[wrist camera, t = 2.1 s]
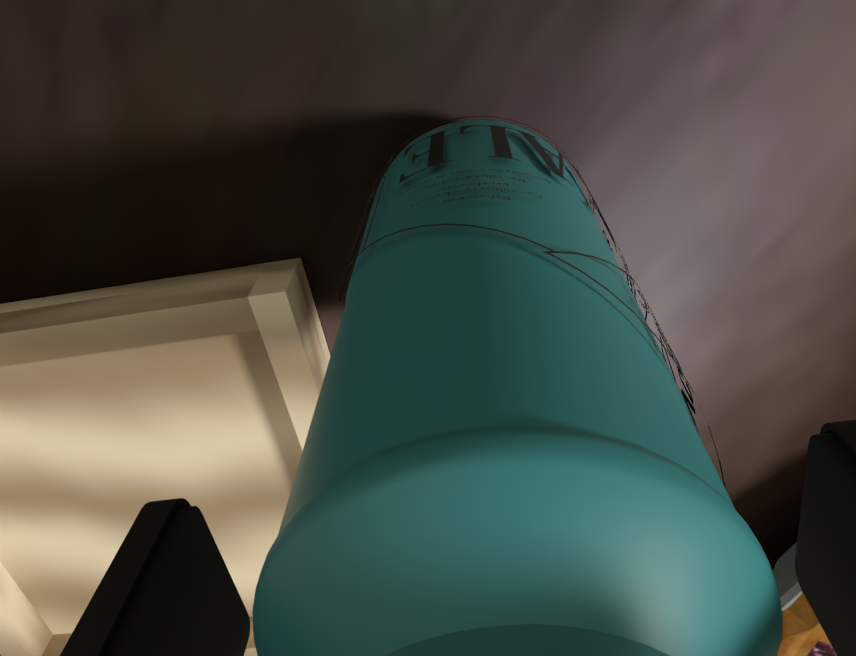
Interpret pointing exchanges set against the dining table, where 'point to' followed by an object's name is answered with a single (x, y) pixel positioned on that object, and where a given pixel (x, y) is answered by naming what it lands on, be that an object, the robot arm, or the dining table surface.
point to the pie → (798, 614)
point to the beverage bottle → (504, 441)
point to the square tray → (147, 429)
